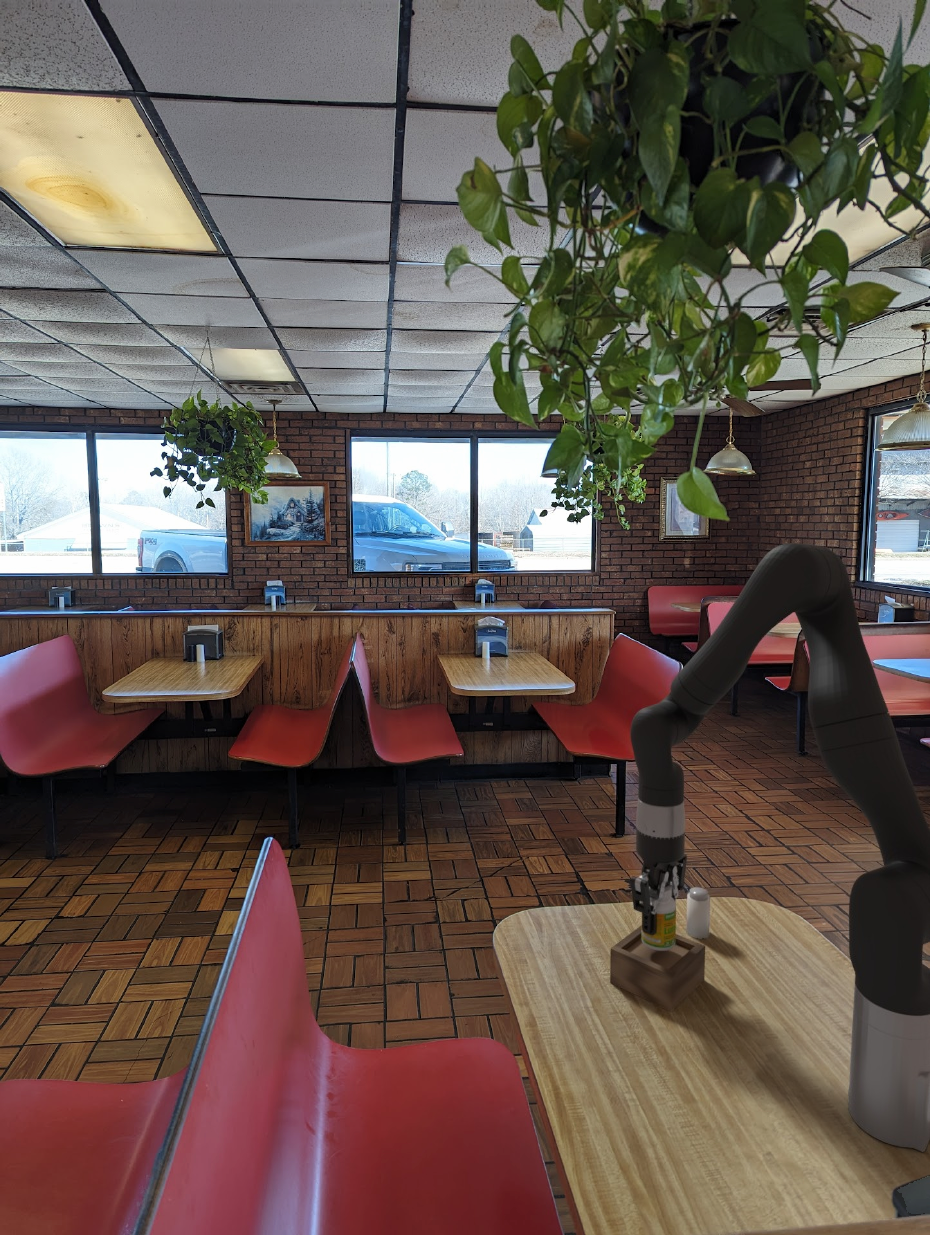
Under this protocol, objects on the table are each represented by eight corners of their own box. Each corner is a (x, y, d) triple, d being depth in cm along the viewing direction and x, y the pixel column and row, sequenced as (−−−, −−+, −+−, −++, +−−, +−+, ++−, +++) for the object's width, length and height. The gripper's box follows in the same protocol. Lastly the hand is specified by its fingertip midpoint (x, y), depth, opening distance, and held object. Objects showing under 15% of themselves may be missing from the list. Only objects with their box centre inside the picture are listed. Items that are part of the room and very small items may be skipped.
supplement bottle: (667, 955, 120) (668, 897, 119) (635, 944, 124) (636, 888, 122) (680, 940, 125) (681, 884, 123) (649, 930, 128) (650, 875, 127)
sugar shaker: (713, 932, 139) (714, 891, 138) (702, 941, 136) (704, 899, 135) (692, 924, 142) (693, 884, 141) (682, 933, 139) (683, 892, 138)
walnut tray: (704, 979, 125) (705, 945, 124) (671, 1011, 117) (671, 975, 116) (645, 954, 133) (645, 922, 132) (610, 982, 125) (610, 948, 124)
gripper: (658, 847, 114) (656, 953, 116) (703, 818, 124) (701, 916, 126) (615, 833, 119) (614, 935, 121) (662, 807, 129) (660, 901, 131)
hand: (658, 925), depth 124 cm, fingers closed on supplement bottle, 5 cm apart
